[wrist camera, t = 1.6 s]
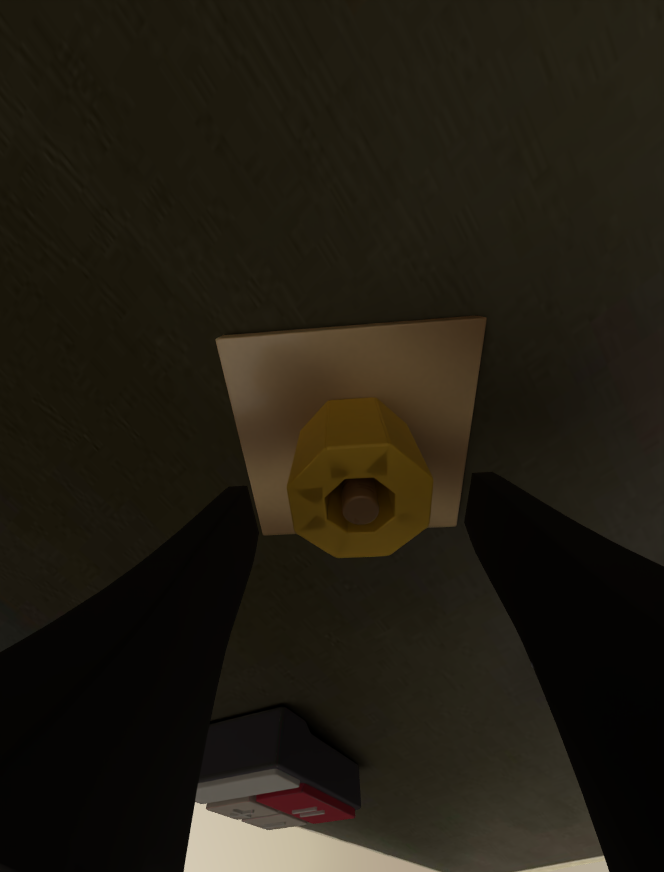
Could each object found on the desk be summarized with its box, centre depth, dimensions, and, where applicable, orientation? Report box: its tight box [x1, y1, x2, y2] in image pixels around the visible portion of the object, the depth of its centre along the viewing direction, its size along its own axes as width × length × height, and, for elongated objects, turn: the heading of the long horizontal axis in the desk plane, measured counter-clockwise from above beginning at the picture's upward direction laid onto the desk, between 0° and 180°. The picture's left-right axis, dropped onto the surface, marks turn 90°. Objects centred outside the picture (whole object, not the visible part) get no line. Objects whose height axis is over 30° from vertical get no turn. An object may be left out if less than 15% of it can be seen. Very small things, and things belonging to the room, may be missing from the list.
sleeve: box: [286, 397, 434, 558], centre depth 12 cm, size 5×5×4 cm
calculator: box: [195, 707, 361, 830], centre depth 28 cm, size 11×4×15 cm
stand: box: [216, 315, 487, 535], centre depth 12 cm, size 10×10×5 cm
